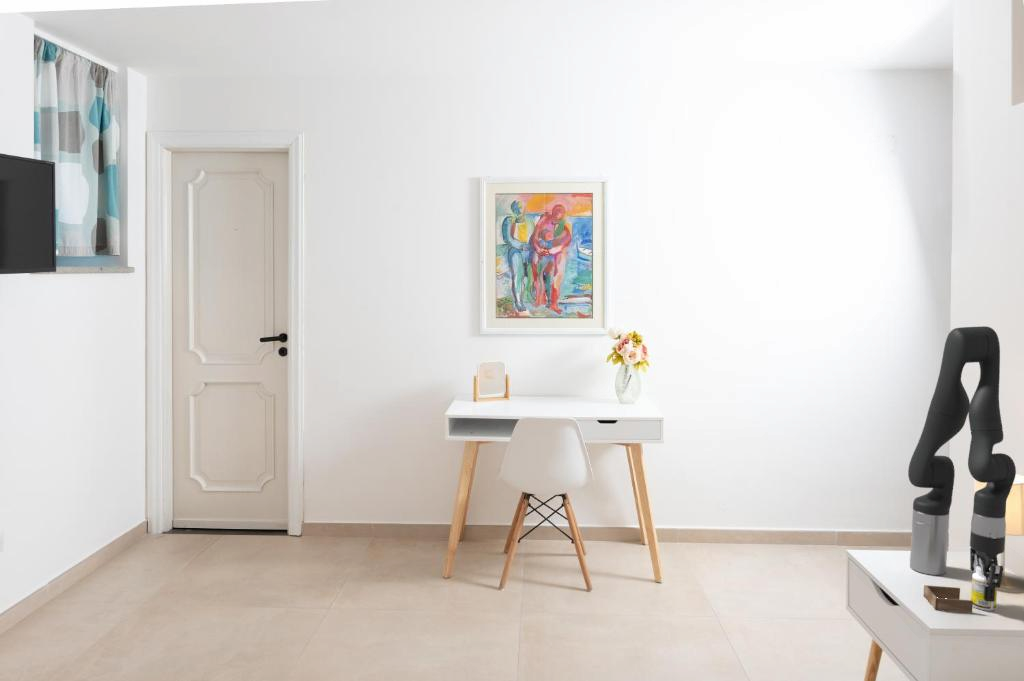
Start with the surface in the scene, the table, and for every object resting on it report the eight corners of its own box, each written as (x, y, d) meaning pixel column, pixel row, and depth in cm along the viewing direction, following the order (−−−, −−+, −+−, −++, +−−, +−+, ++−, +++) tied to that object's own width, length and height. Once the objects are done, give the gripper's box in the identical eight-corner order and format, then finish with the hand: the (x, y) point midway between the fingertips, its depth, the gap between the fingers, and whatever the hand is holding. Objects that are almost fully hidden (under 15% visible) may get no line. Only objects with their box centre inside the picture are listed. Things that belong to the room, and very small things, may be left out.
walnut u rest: (923, 596, 207) (924, 585, 207) (958, 598, 206) (959, 587, 206) (935, 610, 199) (936, 598, 199) (972, 612, 197) (972, 601, 197)
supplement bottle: (985, 602, 204) (988, 563, 203) (1000, 611, 199) (1003, 572, 198) (965, 602, 203) (967, 564, 203) (980, 612, 198) (982, 572, 197)
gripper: (960, 521, 207) (956, 583, 208) (983, 539, 193) (979, 606, 194) (991, 523, 206) (987, 586, 207) (1017, 542, 192) (1012, 608, 193)
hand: (983, 595), depth 201 cm, fingers closed on supplement bottle, 5 cm apart
